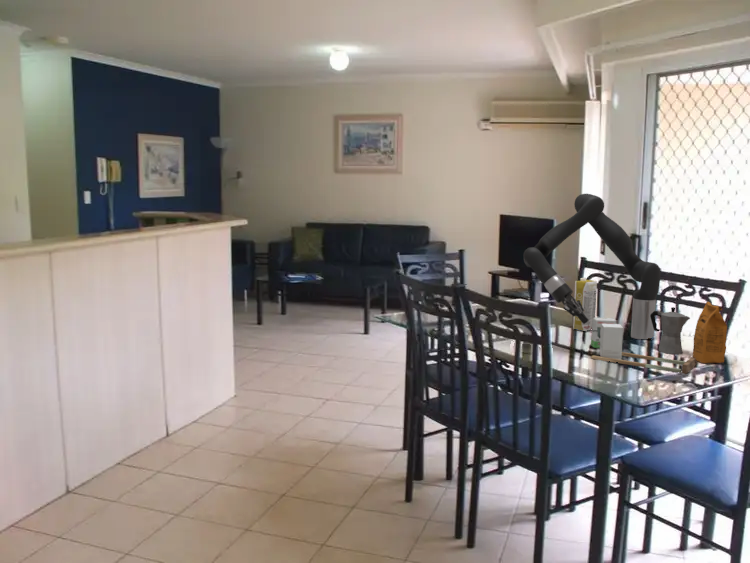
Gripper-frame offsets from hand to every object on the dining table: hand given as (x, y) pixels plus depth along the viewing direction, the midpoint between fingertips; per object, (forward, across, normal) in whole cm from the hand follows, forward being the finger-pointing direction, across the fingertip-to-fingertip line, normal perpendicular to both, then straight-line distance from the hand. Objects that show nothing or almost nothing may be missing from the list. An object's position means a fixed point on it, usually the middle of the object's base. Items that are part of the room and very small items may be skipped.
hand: (586, 322), depth 267 cm
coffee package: (+38, +18, -20) cm, 47 cm away
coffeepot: (+26, +24, -9) cm, 37 cm away
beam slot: (+24, 0, -7) cm, 25 cm away
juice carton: (-2, +42, +20) cm, 47 cm away
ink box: (+10, +15, +8) cm, 20 cm away
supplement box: (+16, 0, +2) cm, 16 cm away
